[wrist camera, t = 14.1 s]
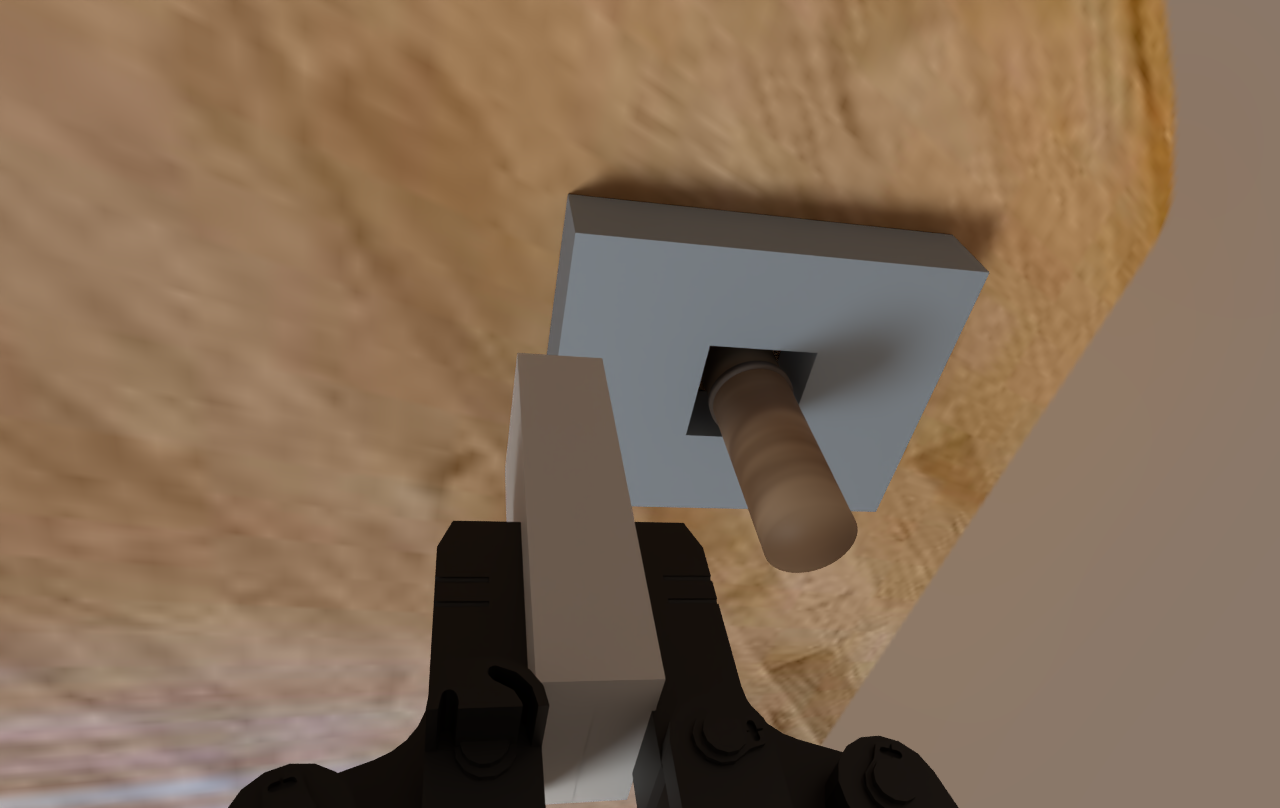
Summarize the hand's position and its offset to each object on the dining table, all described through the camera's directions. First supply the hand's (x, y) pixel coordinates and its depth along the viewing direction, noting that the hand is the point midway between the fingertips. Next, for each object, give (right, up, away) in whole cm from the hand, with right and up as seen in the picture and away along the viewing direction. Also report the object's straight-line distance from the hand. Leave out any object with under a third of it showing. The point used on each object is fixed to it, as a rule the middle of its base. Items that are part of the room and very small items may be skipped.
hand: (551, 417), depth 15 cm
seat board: (+7, +3, +30) cm, 31 cm away
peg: (+7, +3, +30) cm, 31 cm away
